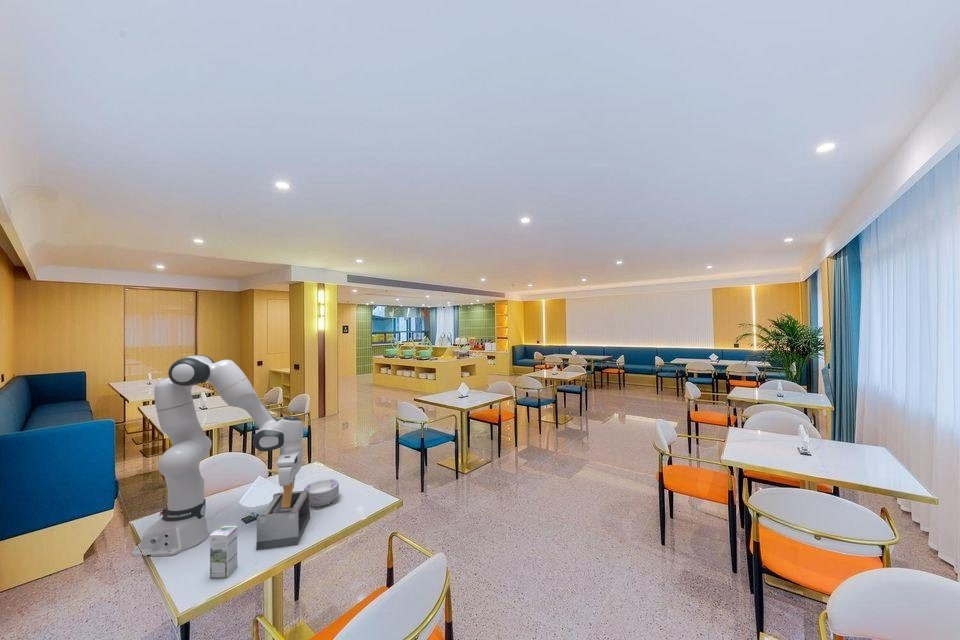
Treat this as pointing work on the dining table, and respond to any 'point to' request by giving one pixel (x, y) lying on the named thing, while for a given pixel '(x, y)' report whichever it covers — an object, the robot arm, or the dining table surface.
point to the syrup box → (223, 551)
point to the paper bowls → (322, 491)
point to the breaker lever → (286, 499)
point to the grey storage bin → (283, 522)
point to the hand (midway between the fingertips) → (291, 487)
